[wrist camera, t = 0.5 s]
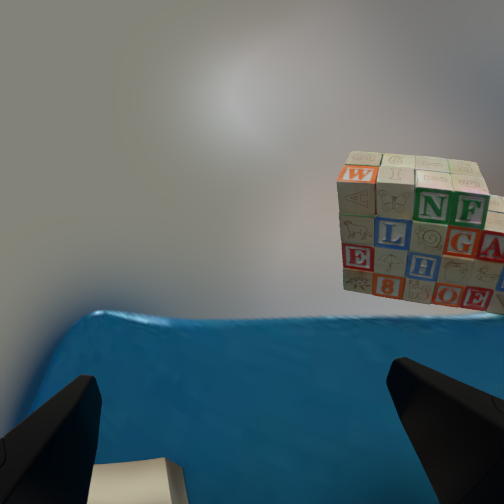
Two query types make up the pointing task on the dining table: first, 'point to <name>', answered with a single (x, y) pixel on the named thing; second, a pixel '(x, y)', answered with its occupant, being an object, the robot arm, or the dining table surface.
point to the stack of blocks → (421, 231)
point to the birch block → (138, 483)
